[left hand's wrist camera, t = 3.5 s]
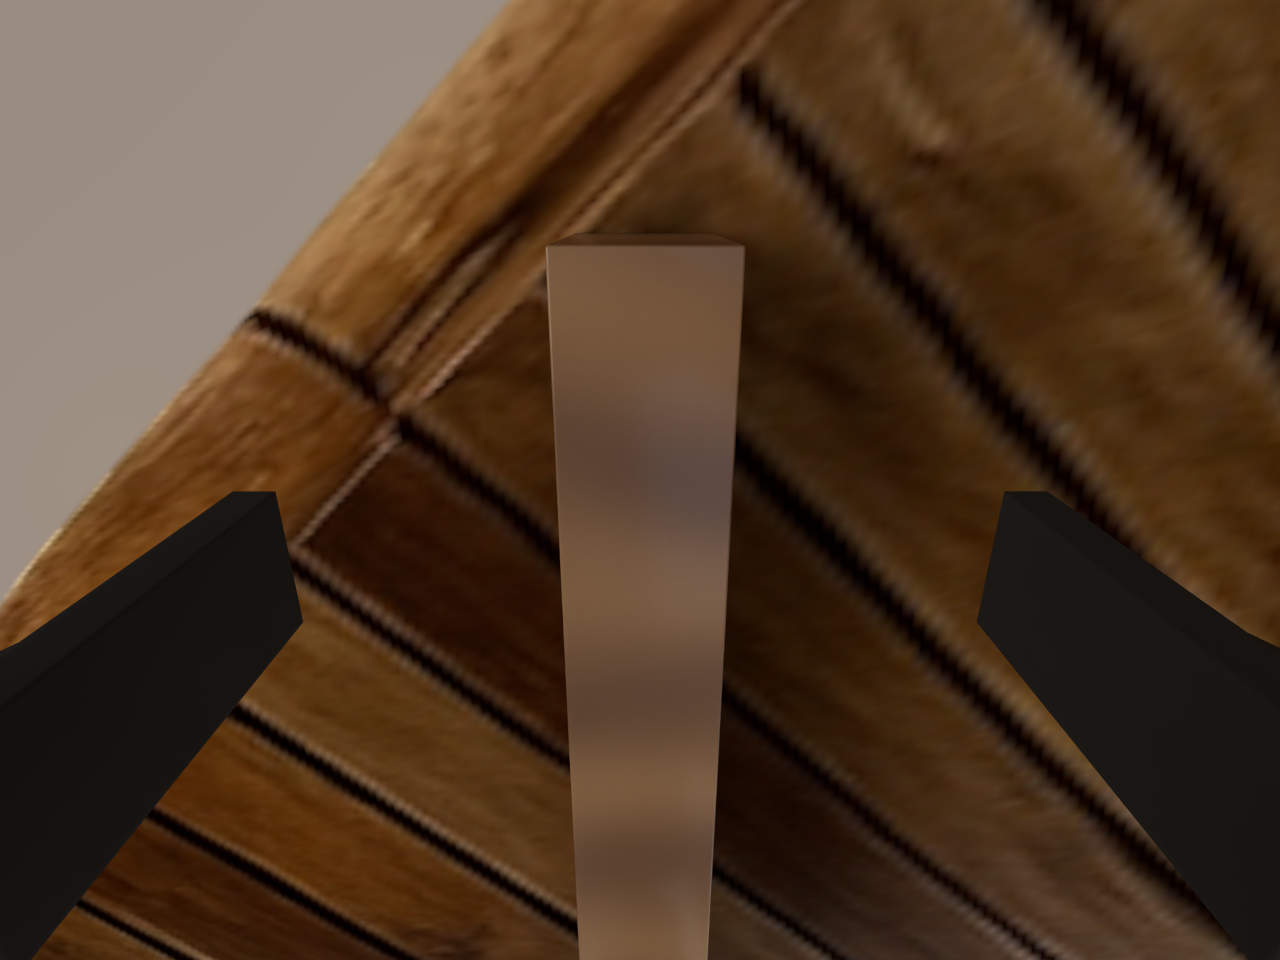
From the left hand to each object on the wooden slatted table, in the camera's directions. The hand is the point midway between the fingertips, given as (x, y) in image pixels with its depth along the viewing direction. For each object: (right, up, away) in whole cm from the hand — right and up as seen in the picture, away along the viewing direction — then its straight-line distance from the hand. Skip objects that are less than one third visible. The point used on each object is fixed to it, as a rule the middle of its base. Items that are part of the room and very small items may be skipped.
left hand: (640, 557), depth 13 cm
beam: (0, -17, +23) cm, 29 cm away
